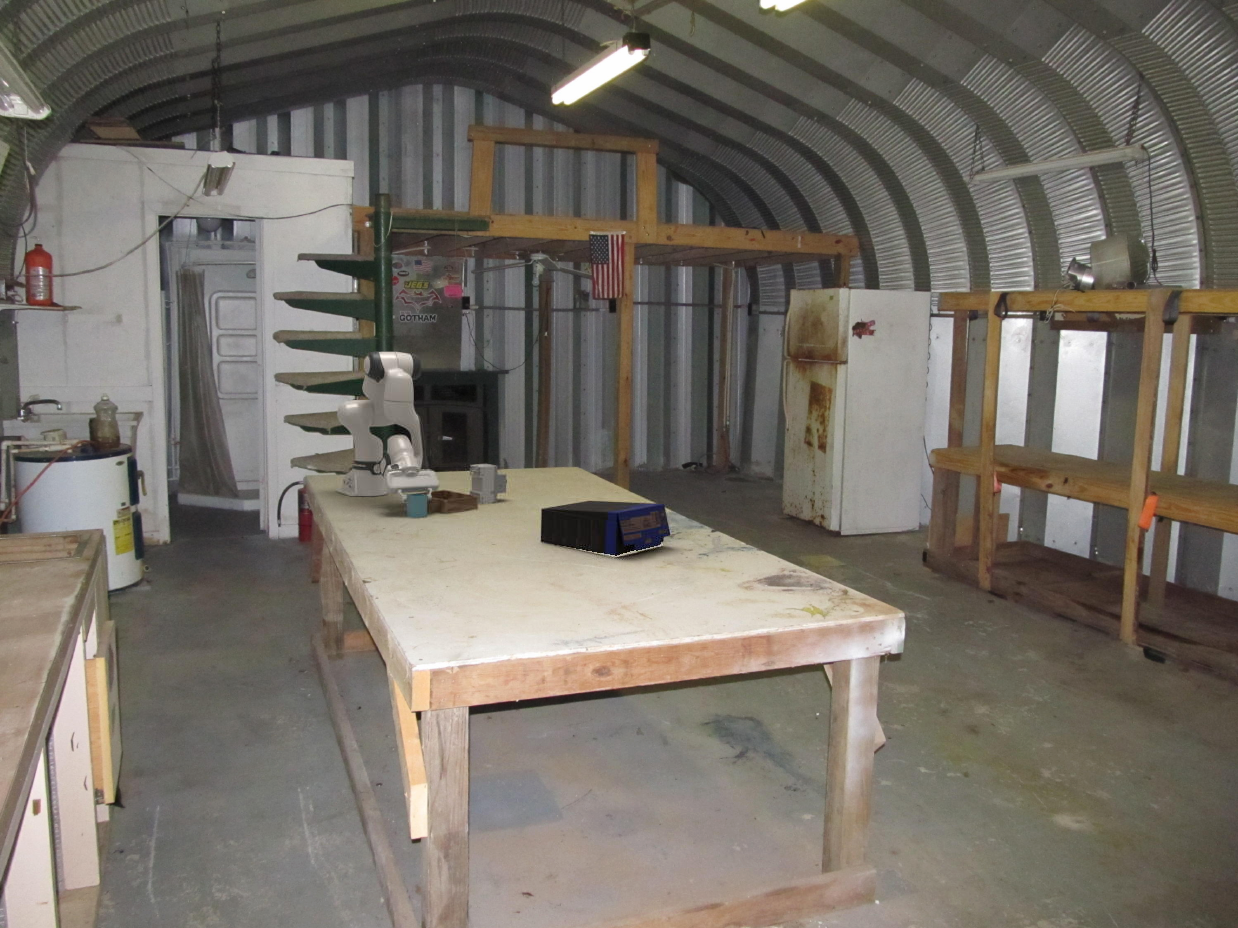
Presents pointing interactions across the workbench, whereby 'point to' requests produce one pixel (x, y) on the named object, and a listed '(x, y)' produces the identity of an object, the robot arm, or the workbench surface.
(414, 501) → the teal crate
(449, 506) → the walnut crate
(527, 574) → the workbench surface
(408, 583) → the workbench surface
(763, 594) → the workbench surface
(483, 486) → the circuit breaker
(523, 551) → the workbench surface
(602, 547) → the black and blue box
